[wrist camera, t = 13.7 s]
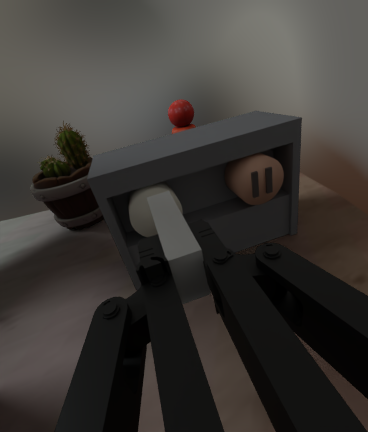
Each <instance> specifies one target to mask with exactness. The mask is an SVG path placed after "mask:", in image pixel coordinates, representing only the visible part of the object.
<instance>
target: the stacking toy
mask: <svg viewBox="0 0 368 432" xmlns="http://www.w3.org/2000/svg"><path fill="white" fill-rule="evenodd" d="M168 116H169V119H170V121H171V123H172V124H174V125H175V126H176V127H174V128H173V130H172V134H174V133H177V132H181V131H185V130H188V129H192V128H196V126H195V125H193V124H190V123H191V122H192V120H193V117H194V110H193V107H192V105H191V104H190V103H189V102H188V101H186V100H177V101H175V102H173V103H172V104H171V106H170V107H169V110H168Z"/></svg>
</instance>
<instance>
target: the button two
mask: <svg viewBox="0 0 368 432" xmlns="http://www.w3.org/2000/svg"><path fill="white" fill-rule="evenodd" d="M224 177H225V182H226V185H227V187H228V188H229V189H230V190H231V191H232V192H234V193H235V194H236V195H237V196H238V197H240V198H241V199H242V200H243V201H244V202H246V203H248V204H250V205H260V204H263V203H266V202H268V201H269V200H271V199H272V198H273V197H274V196H275V195H276V194H277V193H278V191H279V190H280V188H281V186H282V183H283V178H284V172H283V168H282V166H281V164H280V163H279V162H278V161H277V160H276V159H274V158H272V157H269V156H267V155H264V154H262V153H260V152H259V153H256V154H252V155H249V156H246V157H242V158H239V159H236V160H232V161H229V162H228V164H227V166H226V169H225V175H224Z"/></svg>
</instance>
